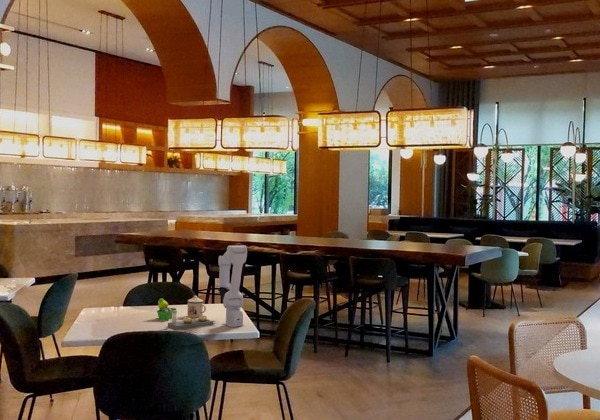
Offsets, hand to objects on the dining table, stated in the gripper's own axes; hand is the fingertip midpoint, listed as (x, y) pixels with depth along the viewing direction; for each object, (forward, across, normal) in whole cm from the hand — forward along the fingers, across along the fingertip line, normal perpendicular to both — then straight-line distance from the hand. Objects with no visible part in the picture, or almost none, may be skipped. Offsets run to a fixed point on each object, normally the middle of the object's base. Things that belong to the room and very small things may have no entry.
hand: (223, 300), depth 378 cm
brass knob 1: (+10, +9, -28) cm, 31 cm away
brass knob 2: (+10, +9, -19) cm, 24 cm away
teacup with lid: (+10, -12, -10) cm, 19 cm away
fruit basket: (+10, -16, -28) cm, 34 cm away
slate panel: (+10, +8, -26) cm, 29 cm away
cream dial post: (+8, +6, -35) cm, 36 cm away
